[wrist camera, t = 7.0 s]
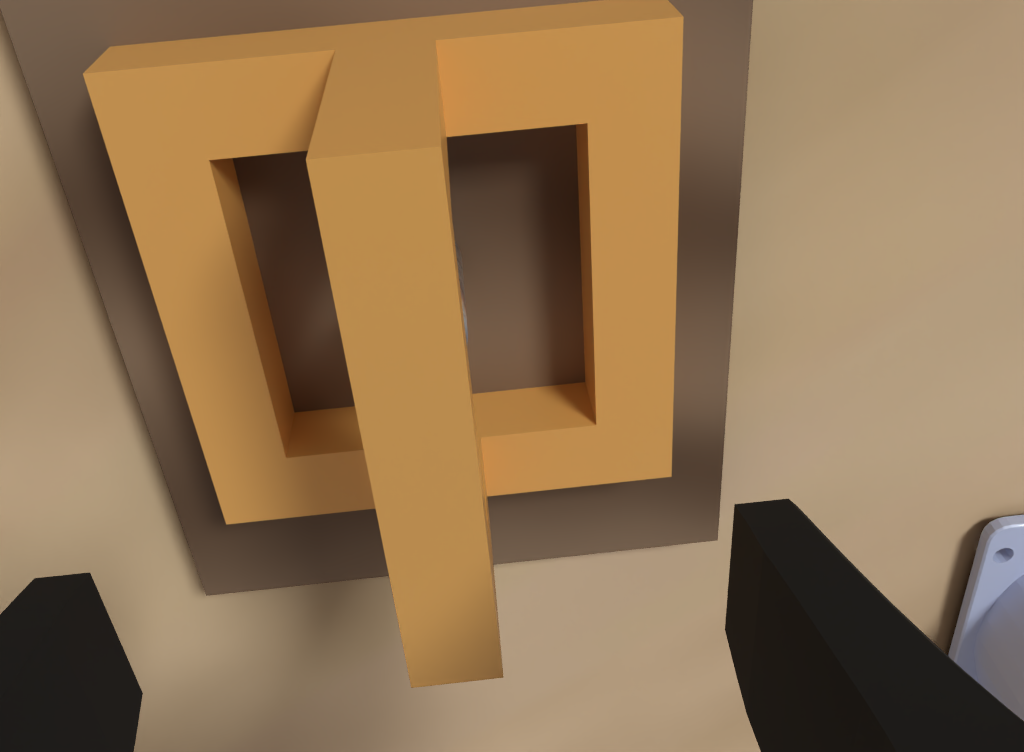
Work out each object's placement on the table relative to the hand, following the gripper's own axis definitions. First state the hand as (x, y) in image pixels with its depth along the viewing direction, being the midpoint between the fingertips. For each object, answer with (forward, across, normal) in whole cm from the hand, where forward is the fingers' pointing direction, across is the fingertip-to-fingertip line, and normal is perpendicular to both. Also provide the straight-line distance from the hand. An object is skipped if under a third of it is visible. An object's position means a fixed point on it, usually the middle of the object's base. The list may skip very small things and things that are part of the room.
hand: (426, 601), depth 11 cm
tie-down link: (+8, 0, 0) cm, 9 cm away
